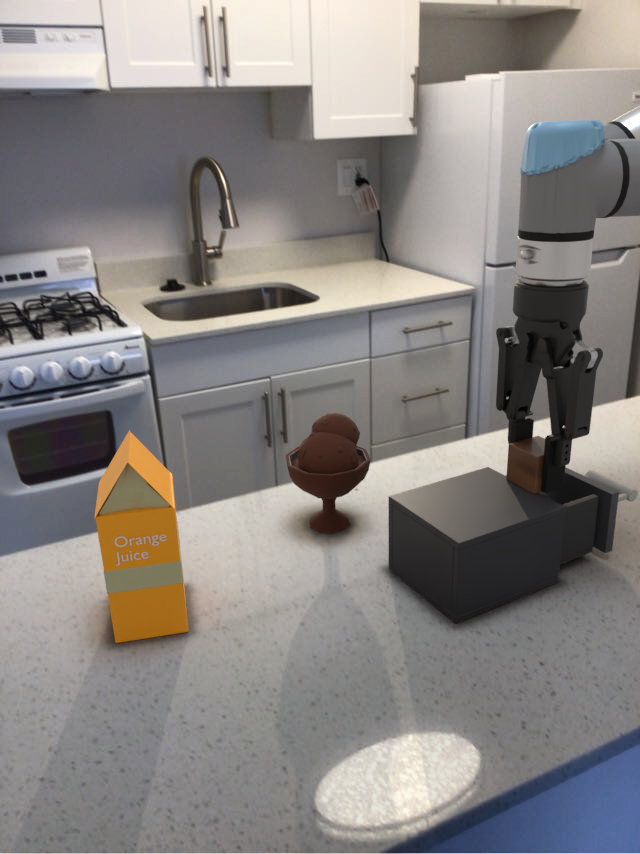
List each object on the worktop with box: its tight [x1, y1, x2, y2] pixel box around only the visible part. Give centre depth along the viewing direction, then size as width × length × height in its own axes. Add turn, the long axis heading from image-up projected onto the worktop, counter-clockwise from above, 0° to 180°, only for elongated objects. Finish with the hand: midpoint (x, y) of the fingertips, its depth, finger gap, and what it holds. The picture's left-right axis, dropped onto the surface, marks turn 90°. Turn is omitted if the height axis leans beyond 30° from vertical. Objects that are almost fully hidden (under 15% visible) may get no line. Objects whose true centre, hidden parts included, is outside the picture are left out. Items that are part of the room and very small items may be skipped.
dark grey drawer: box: [505, 466, 639, 565], centre depth 91 cm, size 20×11×8 cm, turn 119°
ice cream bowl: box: [284, 412, 372, 534], centre depth 98 cm, size 11×11×15 cm
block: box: [506, 435, 567, 494], centre depth 87 cm, size 5×5×5 cm
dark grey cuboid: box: [388, 466, 565, 624], centre depth 86 cm, size 15×13×10 cm
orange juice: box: [93, 429, 190, 644], centre depth 79 cm, size 8×9×20 cm
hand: (535, 480), depth 88 cm, fingers closed on block, 5 cm apart
